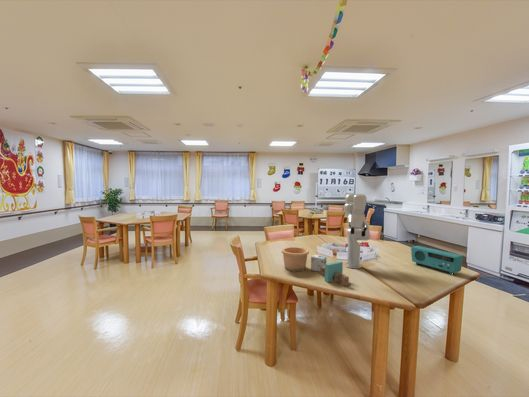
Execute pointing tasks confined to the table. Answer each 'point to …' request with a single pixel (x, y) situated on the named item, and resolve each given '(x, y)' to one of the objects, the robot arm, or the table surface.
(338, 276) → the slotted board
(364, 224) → the robot arm
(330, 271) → the teal panel
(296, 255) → the pottery
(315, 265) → the light bulb box
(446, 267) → the radio
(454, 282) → the table surface
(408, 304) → the table surface
